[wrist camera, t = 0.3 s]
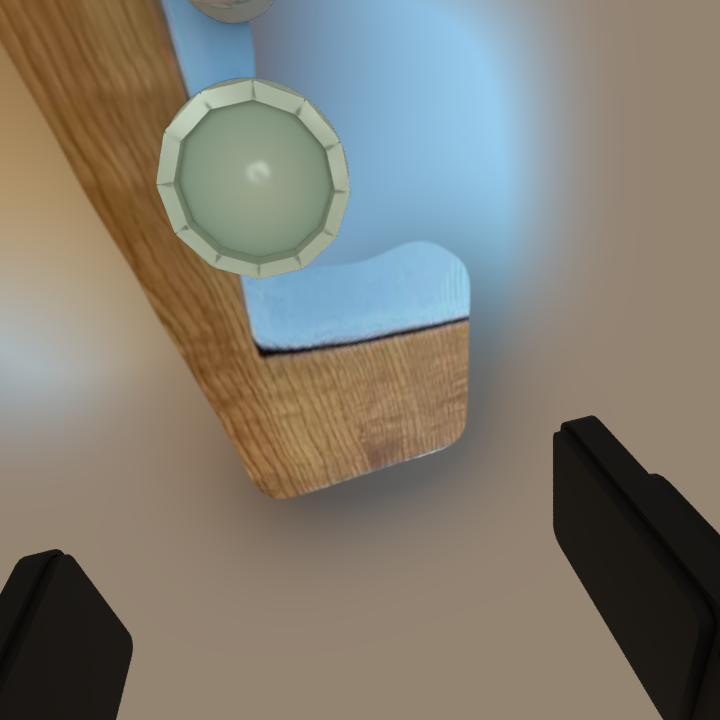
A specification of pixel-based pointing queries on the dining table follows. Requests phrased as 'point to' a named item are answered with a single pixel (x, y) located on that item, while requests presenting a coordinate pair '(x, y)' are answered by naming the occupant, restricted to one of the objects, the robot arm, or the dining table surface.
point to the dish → (253, 177)
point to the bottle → (232, 9)
